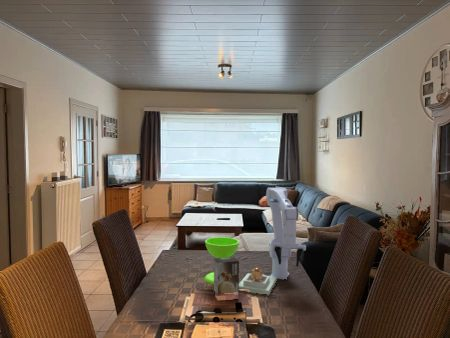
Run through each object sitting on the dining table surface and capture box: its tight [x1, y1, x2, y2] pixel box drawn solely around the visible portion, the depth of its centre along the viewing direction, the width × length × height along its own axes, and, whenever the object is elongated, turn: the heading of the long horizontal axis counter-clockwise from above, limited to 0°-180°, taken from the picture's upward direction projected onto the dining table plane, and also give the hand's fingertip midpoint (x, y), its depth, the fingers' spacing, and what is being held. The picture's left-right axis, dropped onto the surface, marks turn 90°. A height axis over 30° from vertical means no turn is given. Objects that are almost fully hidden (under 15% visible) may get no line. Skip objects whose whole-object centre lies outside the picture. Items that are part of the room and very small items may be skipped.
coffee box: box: [213, 256, 240, 294], centre depth 148 cm, size 9×6×16 cm
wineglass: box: [204, 236, 240, 285], centre depth 169 cm, size 16×16×18 cm
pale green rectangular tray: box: [239, 272, 278, 296], centre depth 162 cm, size 18×14×4 cm
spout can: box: [250, 267, 264, 282], centre depth 160 cm, size 5×5×6 cm
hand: (288, 264), depth 160 cm, fingers open, 7 cm apart
